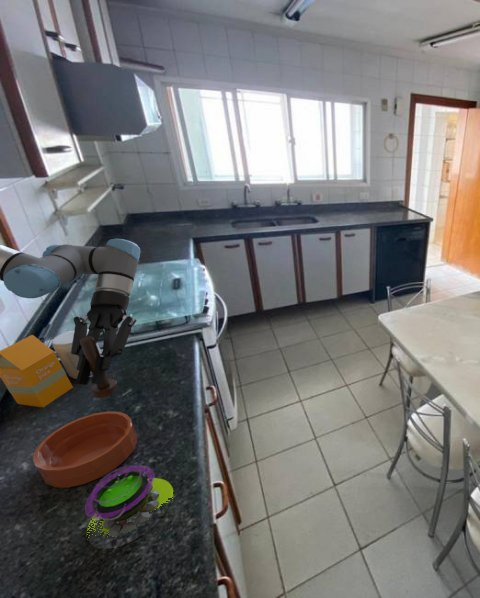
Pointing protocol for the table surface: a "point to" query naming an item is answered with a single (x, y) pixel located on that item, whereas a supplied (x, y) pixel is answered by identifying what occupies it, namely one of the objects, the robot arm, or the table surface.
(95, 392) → the wooden masher
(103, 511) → the toy cauldron
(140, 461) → the table surface
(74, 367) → the supplement tub
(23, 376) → the orange juice
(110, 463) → the bowl
